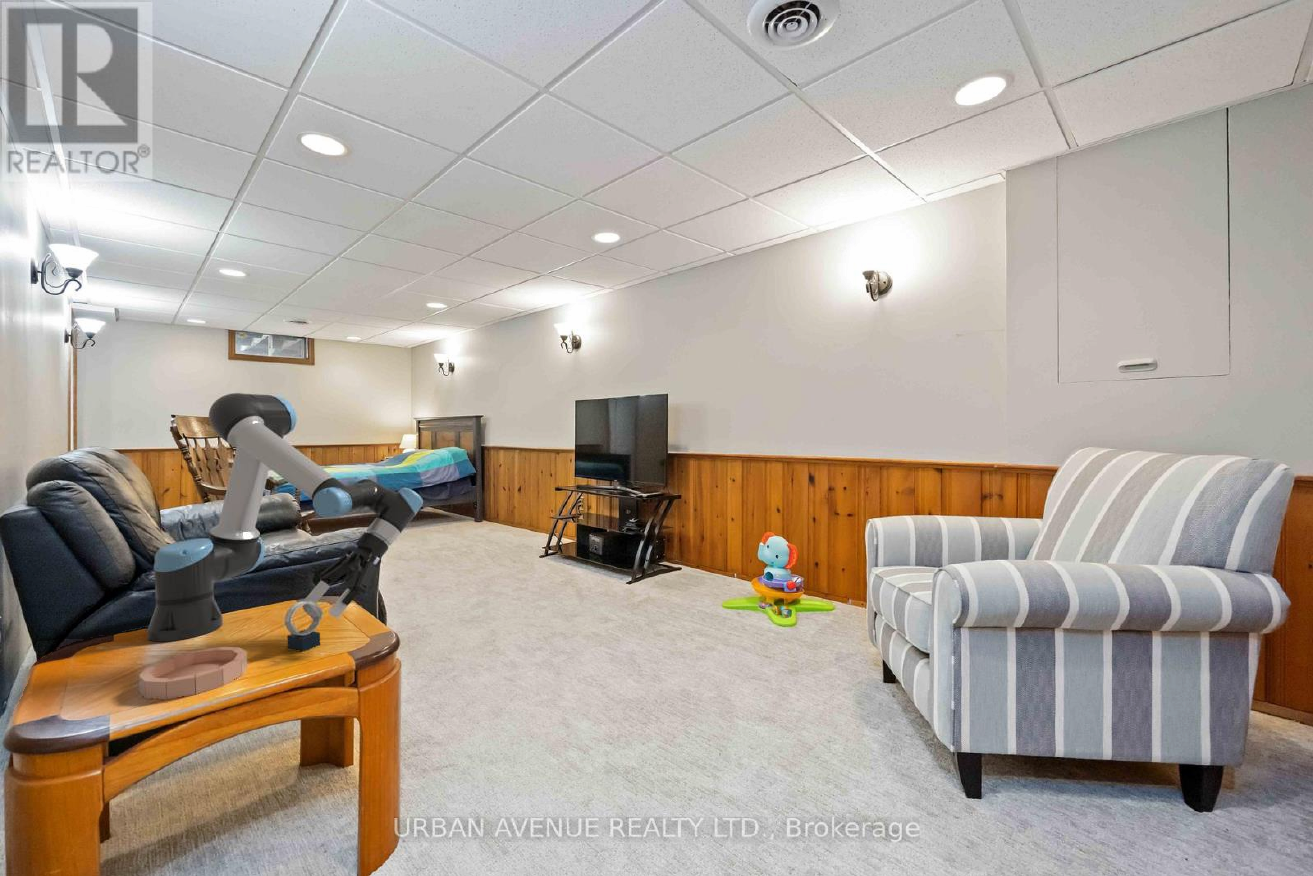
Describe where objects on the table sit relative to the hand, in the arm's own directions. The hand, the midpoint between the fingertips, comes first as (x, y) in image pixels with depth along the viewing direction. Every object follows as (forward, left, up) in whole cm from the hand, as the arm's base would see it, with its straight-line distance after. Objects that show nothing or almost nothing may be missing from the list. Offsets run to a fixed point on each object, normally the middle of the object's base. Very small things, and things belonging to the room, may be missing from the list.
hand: (319, 610), depth 136 cm
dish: (-1, -24, -8) cm, 25 cm away
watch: (-1, -3, -8) cm, 9 cm away
